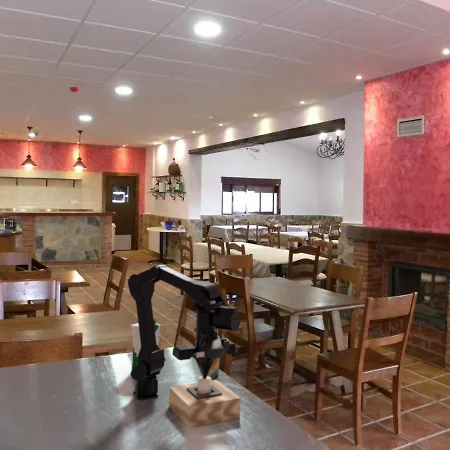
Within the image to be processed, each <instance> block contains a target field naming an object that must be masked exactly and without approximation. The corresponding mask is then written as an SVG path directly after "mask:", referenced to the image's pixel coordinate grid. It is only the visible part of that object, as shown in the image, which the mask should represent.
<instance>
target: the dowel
mask: <svg viewBox="0 0 450 450" xmlns="http://www.w3.org/2000/svg"><path fill="white" fill-rule="evenodd" d="M197 383H198V389H197V393H199V394H200V395H201V394H207V393H211V377H209V376H207V378H205V379H204V378H203V377H202V375H201V376H198V377H197Z"/></svg>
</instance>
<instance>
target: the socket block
mask: <svg viewBox="0 0 450 450" xmlns="http://www.w3.org/2000/svg"><path fill="white" fill-rule="evenodd" d="M168 388H169V389H168V390H169V392H168V393H169V396H168V397H169V399H168V407H169V408H170V409H171V410H172V411H173V413H175V415H176V417H177V416H178V418H179V419H180V420H181V421H182V422H183V423H184V424H185V425H186V426H187V428H188V427H189V428H188V429H191V428H192V427H193V428H197V426H198V427H201V426H202V427H204V426H208V425H213V424H217V423H222V422H228V421H232V420H238V419H240V418H241V397H240V396H239V395H237V394H236V393H235V392H233V390H231V389H229V388H228V387H227V386H226V385H224V384H223V383H221V382H220V381H219V380H218V379H217V380H212V381H211V393H207V394H201V395H200V394H199V393H197V389H198V382H193V383H189V384H187V383H186V384H180V385H173V386H169V387H168ZM193 428H192V429H193Z"/></svg>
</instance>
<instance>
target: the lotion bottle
mask: <svg viewBox="0 0 450 450" xmlns="http://www.w3.org/2000/svg"><path fill="white" fill-rule="evenodd" d="M215 330H216V331H217V332H218V329H217V328H216V327H215ZM217 336H218V339H221V338H220V336H219V335H217ZM219 370H220V357H219V358H217V359H215V360H214V361H213V363H212V365H211V367H210V370H209V373H208V375H207V376H209V377H211V381H212V380H217V381H218V379H219V374H220V371H219Z"/></svg>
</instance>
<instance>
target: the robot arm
mask: <svg viewBox="0 0 450 450" xmlns="http://www.w3.org/2000/svg"><path fill="white" fill-rule="evenodd" d="M160 281H162V282H163V283H166V284H168V285H169V286H172V287H174V288H176V289H179V290H181V291H182V292H184V293H186V294H187V295H188V297H189V299H190V300H192V302H194V304H193V305H192V306H191V307H190V310H191V311H196V315H195V316H196V318H195V319H196V322H195V327H194V333H195V341H193V345H194V347H189V346H188V345H187V344H179V345H178V344H177V345H174V347H173V349H172V356H173V357H175V358H176V359H177V360H179V361H187V360H190V359H191V358H193V359H194V360H195V362H196V364H197V367H198V369H199V372H200V374H201V376H202V377H203V378H204V379H205V378H207V375H208V373H209V370H210V367H211V365H212V363H213V361H214V360H215V359H217V358H219V359H220V358H223V355H224V353H226V354H227V355H233V354H234V355H235V354H237V353H238V348H237V345H236V343H234V342H232V341H231V340H229V339H228V338H226V337H225V338H220V339H218V336H219V335H218V330H224V331H229V332H234V333H236V332H237V331H238V330H239V328H240V325H241V319H242V318H241V316H240V313H239V311H238V308H237V307H236V306H227V304H226V302H225V300H224V298H223V297H222V294H221V293H220V290H219V286H218V285H217V284H216V283H212V282H209V281H203V280H197V279H194V278H191V277H189V276H188V275H185V274H183V273H180V272H178V271H177V270H174V269H172V268H171V267H168V266H167V265H165V264H159V265H158V264H157V265H154V266H152V267H151V268H149V269H146V270H144V271H142V272H139V273H134V274H131V275H130V276H129V278H128V279H127V286H128V289H129V290H128V291H129V294H130V296H131V297H132V299H133V300H134V302H135V306H136V315H137V323H138V325H139V333H140V342H141V348H140V351H139V354H138V362H137V366H136V367H135V368H134V369H133V370H132V369H131V370H132V371H130V376H131V379H133V380H134V391H133V392H132V393H133V395H134V396H135V398H136V399H137V400H138V401H141V400H146V399H147V400H148V399H154V398H158V397H159V395H158V393H159V380H158V377H157V375H160V374H161V371H162V369H163V368H164V366H165V362H166V358H165V349H164V348H160V347H159V344H158V345H157V343H156V336H155V328H154V319H155V318H154V312H153V302H152V298H153V296H154V293H155V284H156V283H158V282H160ZM215 327H216V328H217V331H216V330H215Z"/></svg>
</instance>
